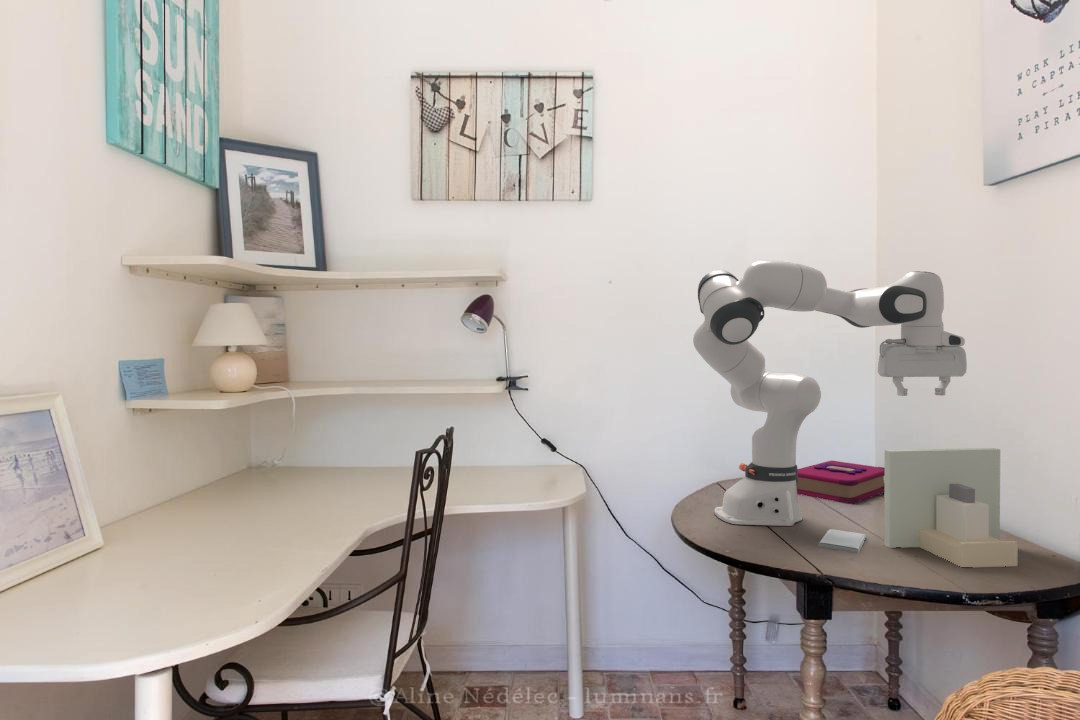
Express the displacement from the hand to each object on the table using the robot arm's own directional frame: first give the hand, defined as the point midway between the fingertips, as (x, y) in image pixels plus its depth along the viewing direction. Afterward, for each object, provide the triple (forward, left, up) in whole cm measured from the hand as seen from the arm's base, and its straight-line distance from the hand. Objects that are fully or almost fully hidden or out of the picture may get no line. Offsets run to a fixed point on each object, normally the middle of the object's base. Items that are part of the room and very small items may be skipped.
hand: (921, 395), depth 149 cm
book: (+3, +43, -34) cm, 55 cm away
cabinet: (-2, -16, -30) cm, 34 cm away
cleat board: (-1, -16, -34) cm, 37 cm away
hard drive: (-23, -6, -34) cm, 42 cm away
